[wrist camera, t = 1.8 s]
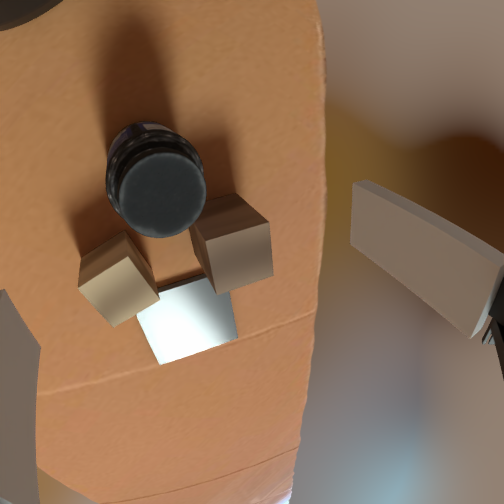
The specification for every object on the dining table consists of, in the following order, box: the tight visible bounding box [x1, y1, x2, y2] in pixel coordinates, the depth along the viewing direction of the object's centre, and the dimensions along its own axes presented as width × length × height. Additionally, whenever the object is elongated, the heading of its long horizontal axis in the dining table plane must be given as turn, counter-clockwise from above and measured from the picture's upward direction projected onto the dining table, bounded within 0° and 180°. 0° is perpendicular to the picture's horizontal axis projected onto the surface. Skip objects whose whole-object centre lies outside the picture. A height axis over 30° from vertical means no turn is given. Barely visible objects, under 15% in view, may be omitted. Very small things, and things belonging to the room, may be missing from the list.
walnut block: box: [189, 193, 274, 295], centre depth 27 cm, size 5×5×7 cm
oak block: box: [78, 230, 160, 328], centre depth 26 cm, size 5×5×5 cm
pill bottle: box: [105, 121, 207, 238], centre depth 20 cm, size 6×6×11 cm
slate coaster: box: [136, 273, 238, 365], centre depth 34 cm, size 10×10×1 cm
